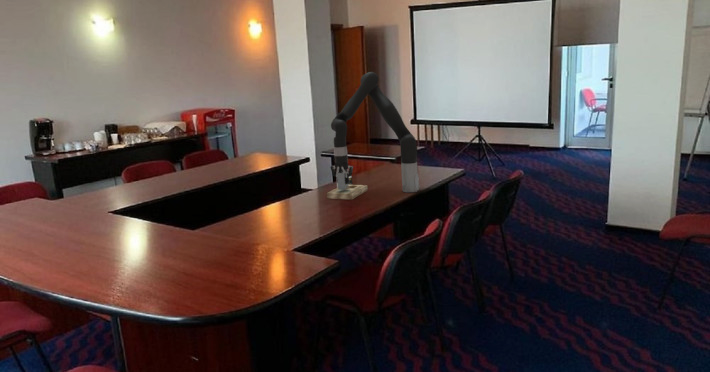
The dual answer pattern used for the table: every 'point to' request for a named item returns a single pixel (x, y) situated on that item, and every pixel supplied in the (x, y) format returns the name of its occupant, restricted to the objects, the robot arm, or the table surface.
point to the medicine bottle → (349, 180)
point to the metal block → (342, 181)
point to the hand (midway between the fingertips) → (343, 183)
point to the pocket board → (347, 192)
